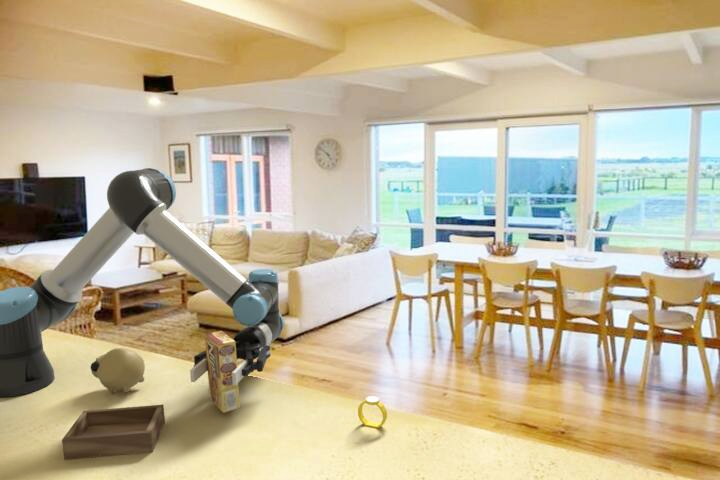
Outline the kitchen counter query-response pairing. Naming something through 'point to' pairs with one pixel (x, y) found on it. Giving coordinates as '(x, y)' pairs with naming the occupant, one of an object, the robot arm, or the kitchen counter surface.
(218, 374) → the candy box
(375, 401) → the gold gem ring
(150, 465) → the kitchen counter surface
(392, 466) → the kitchen counter surface
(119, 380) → the round plush toy
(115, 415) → the tray
